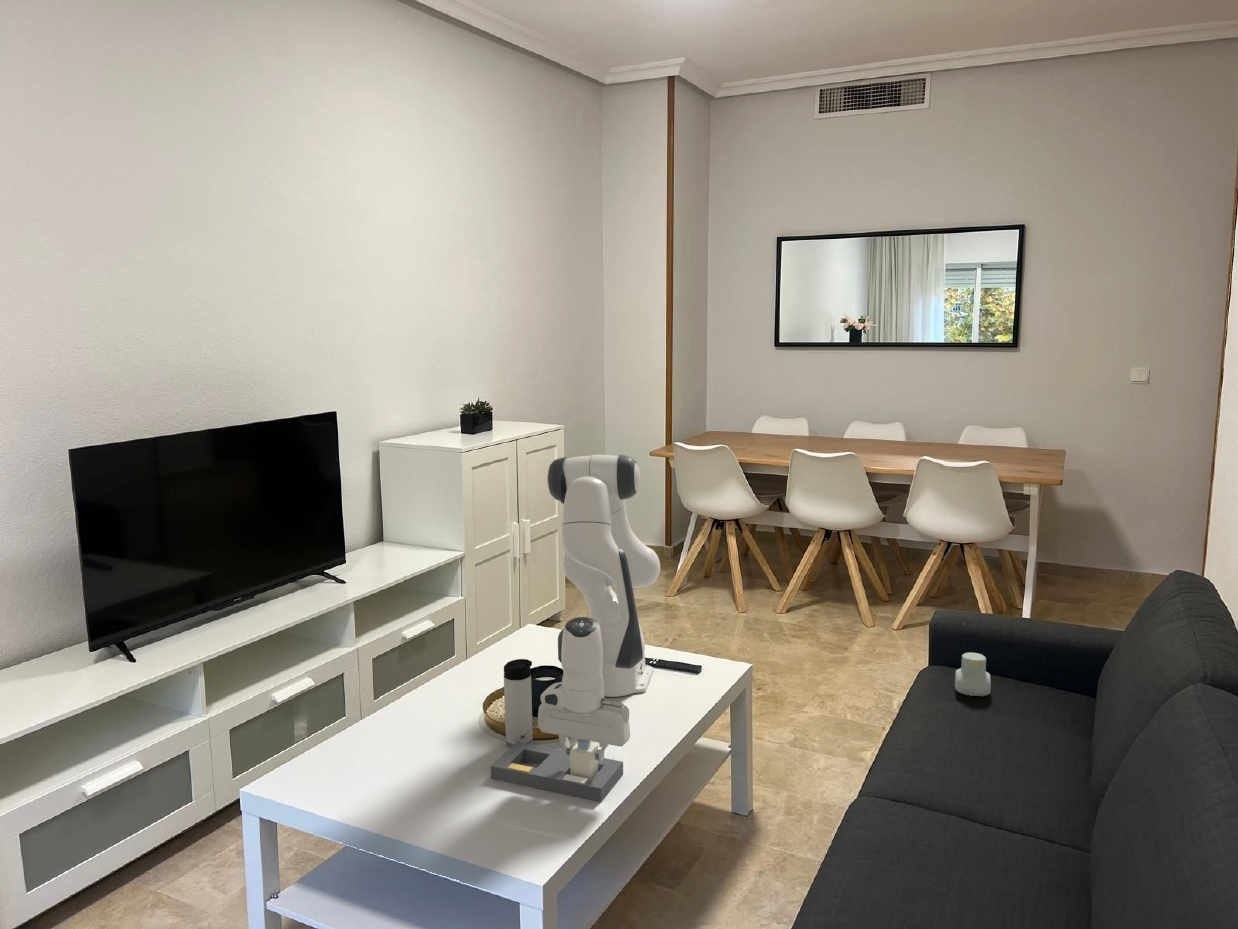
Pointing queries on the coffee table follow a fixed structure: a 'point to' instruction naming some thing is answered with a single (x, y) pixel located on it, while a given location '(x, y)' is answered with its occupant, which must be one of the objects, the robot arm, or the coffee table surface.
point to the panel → (554, 772)
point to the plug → (583, 759)
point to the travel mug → (518, 702)
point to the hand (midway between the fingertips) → (584, 756)
